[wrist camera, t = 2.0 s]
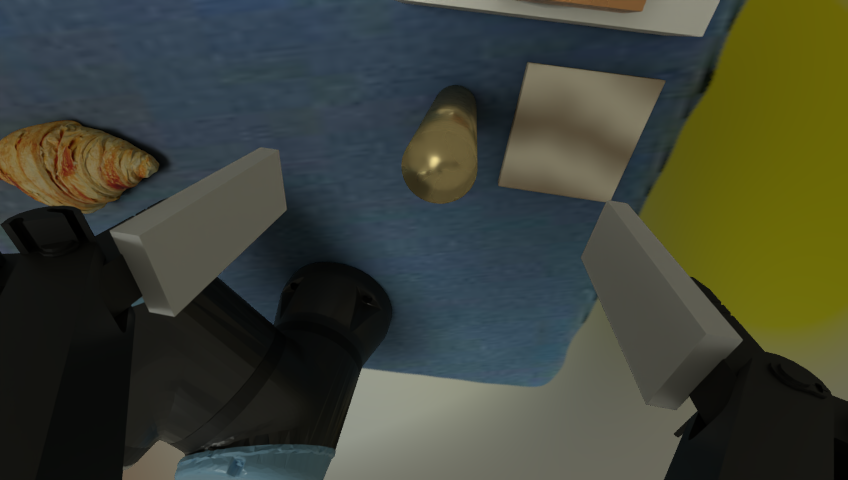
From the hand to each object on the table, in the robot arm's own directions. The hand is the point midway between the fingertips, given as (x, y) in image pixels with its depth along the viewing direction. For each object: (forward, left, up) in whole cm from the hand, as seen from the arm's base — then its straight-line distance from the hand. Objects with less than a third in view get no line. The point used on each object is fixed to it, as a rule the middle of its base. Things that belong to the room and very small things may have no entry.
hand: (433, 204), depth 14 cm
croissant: (-12, +42, -21) cm, 49 cm away
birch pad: (-1, -11, -21) cm, 23 cm away
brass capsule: (0, 0, -21) cm, 21 cm away
